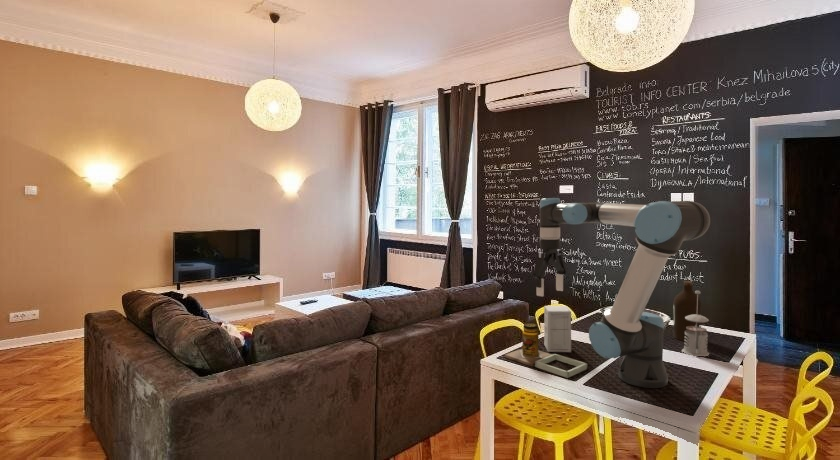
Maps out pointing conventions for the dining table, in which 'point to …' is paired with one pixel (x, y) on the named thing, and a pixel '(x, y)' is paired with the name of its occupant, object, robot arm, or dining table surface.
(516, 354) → the board
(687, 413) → the dining table surface
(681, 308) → the olive oil
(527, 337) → the condiment
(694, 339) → the french press
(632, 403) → the dining table surface
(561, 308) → the supplement box
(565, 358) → the tray
